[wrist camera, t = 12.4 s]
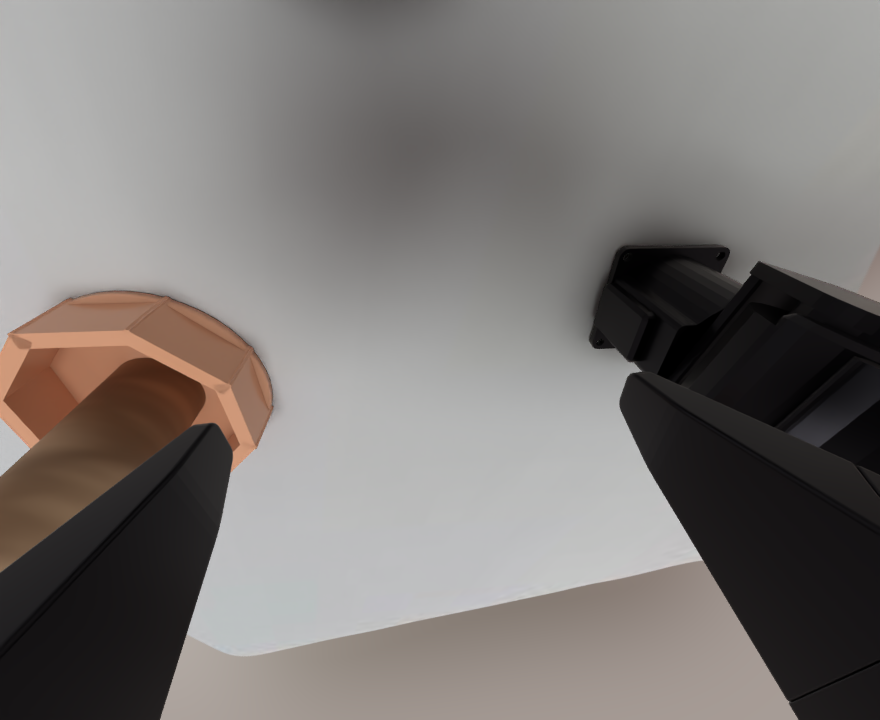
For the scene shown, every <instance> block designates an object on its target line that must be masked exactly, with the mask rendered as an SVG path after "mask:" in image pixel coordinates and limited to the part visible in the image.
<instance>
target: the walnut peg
mask: <svg viewBox="0 0 880 720" xmlns="http://www.w3.org/2000/svg"><path fill="white" fill-rule="evenodd" d="M205 400H206V395H205V391H204V389H203V386H202V385H201V383H200V382H198V381H196V380H194V379H192V378H190V377H188V376H186V375H184V374H182V373H180V372H178V371H176V370H174V369H172V368H170V367H168V366H166V365H165V364H163V363H161V362H159V361H157V360H155V359H153V358H135V359H132V360H129V361H126V362H125V363H123V364H122V365H120V366H119V367H118V368H117V369H116V370H115V371H114V372H113V373H112V374H111V375H110V376H109V377H108V378H106V379H105V380H104V381H103V382H102V383H101V384H100V385H99V386H98V387H97V388H96V389H95V390H93V391H92V392H91V393H90V394H89V395H88V396H87V397H86V398H85V399H84V400H83V401H82V402H81V403H79V404H78V405H77V406H76V407H75V408H74V409H73V410H72V411H71V412H70V413H69V414H68V415H67V416H65V417H64V418H63V419H62V420H61V421H60V422H59V423H58V424H57V425H56V426H55V427H54V428H53V429H51V430H50V431H49V432H48V433H47V434H46V435H45V436H44V437H43V438H42V439H41V440H40V441H39V442H37V443H36V444H35V445H34V446H33V447H32V448H31V449H30V450H29V451H28V452H27V453H26V454H25V455H23V456H22V457H21V458H20V459H19V460H18V461H17V462H16V463H15V464H14V465H13V466H12V467H11V468H9V469H8V470H7V471H6V472H5V473H4V474H3V475H2V476H1V477H0V572H1V571H3V570H4V569H5V568H6V567H8V566H9V565H10V564H12V563H13V562H14V561H16V560H17V559H18V558H20V557H21V556H22V555H23V554H25V553H26V552H27V551H29V550H30V549H31V548H33V547H34V546H35V545H37V544H38V543H39V542H40V541H42V540H43V539H44V538H46V537H47V536H48V535H50V534H51V533H52V532H54V531H55V530H56V529H57V528H59V527H60V526H61V525H63V524H64V523H65V522H67V521H68V520H69V519H70V518H72V517H73V516H74V515H76V514H77V513H78V512H80V511H81V510H82V509H84V508H85V507H86V506H87V505H89V504H90V503H91V502H93V501H94V500H95V499H97V498H98V497H99V496H101V495H102V494H103V493H104V492H106V491H107V490H108V489H110V488H111V487H112V486H114V485H115V484H116V483H118V482H119V481H120V480H121V479H123V478H124V477H125V476H127V475H128V474H129V473H131V472H132V471H133V470H135V469H136V468H137V467H138V466H140V465H141V464H142V463H144V462H145V461H146V460H148V459H149V458H150V457H151V456H153V455H154V454H155V453H157V452H158V451H159V450H161V449H162V448H163V447H165V446H166V445H167V444H168V443H170V442H171V441H172V440H174V439H175V438H176V437H178V436H179V435H180V434H182V433H183V432H184V431H185V430H187V429H188V428H189V427H190V426H191V425H192V423H193V422H194V420H195V419H196V417H197V416H198V414H199V413H200V411H201V409H202V408H203V406H204V404H205Z"/></svg>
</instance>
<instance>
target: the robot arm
mask: <svg viewBox="0 0 880 720" xmlns="http://www.w3.org/2000/svg"><path fill="white" fill-rule="evenodd" d="M628 253H629V255H628V257H627V258H626V259H624V260H623V258H624V256H625V255H626V254H628ZM719 253H720V254H719ZM718 254H719V255H718ZM729 254H730V250H729V249H728V248H727V247H724V246H722V245H685V246H626V247H623V248H621V249H620V250H619V251H618V252H617V254H616V256H615V259H614V263H613V266H612V269H611V272H610V276H609V279H608V282H607V285H606V286H605V287H604V290H603V293H602V297H601V300H600V303H599V307H598V310H597V313H596V316H595V320H594V328H593V331H592V334H591V337H590V344H591V345H592V346H593V347H594V348H595V349H607V348H616V349H617V350H618V351H619V352H620V353H621V354H622V355H623V357H624V358H625V359H626V360H627V361H628V362H634V363H635V364H636V365H637V366H638V367H639V369H640V370H641V371H642V372H637V373H632V374H630V375H629V376H628V377H627V380H626V383H625V386H624V389H623V391H622V394H621V397H620V403H619V404H620V409H621V412H622V414H623V416H624V418H625V420H626V423H627V425H628V427H629V429H630V431H631V433H632V435H633V438H634V440H635V442H636V444H637V446H638V448H639V450H640V453H641V455H642V457H643V459H644V461H645V463H646V465H647V467H648V469H649V470H650V472H651V474H652V476H653V478H654V479H655V481H656V483H657V484H658V486H659V488H660V489H661V491H662V493H663V494H664V496H665V498H666V499H667V501H668V503H669V504H670V506H671V508H672V509H673V511H674V513H675V514H676V516H677V518H678V519H679V521H680V523H681V524H682V526H683V528H684V529H685V531H686V533H687V534H688V536H689V538H690V539H691V541H692V543H693V544H694V546H695V547H696V549H697V551H698V552H699V554H700V556H701V557H702V559H703V561H704V562H705V564H706V566H707V567H708V569H709V571H710V572H711V574H712V576H713V577H714V579H715V581H716V582H717V584H718V586H719V587H720V589H721V591H722V592H723V594H724V596H725V597H726V599H727V601H728V602H729V604H730V606H731V607H732V609H733V611H734V612H735V614H736V616H737V617H738V619H739V621H740V622H741V624H742V626H743V627H744V629H745V631H746V632H747V634H748V636H749V637H750V639H751V641H752V642H753V644H754V646H755V647H756V649H757V651H758V652H759V654H760V656H761V657H762V659H763V660H764V662H765V664H766V666H767V667H768V669H769V671H770V672H771V674H772V676H773V677H774V679H775V681H776V682H777V684H778V685H779V687H780V689H781V691H782V692H783V694H784V696H785V697H786V699H787V700H788V701H790V702H789V704H790V706H791V708H792V710H793V711H794V713H795V715H796V716H797V718H798V720H880V303H879V302H877V301H874V300H871V299H869V298H866V297H864V296H861V295H859V294H856V293H853V292H851V291H848V290H846V289H843V288H841V287H838V286H835V285H832V284H829V283H826V282H823V281H820V280H817V279H814V278H810V277H807V276H804V275H801V274H798V273H795V272H792V271H789V270H786V269H782V268H779V267H776V266H773V265H770V264H767V263H764V262H761V261H759V262H758V263H757V264H756V265H755V267H754V268H753V269H752V270H751V272H750V274H751V276H750V277H749V278H748V279H747V281H746V282H745V283H744V284H743V285H742V284H741V283H739V282H737V281H735V280H733V279H731V278H729V277H727V276H725V275H723V274H721V271H722V269H723V267H724V265H725V263H726V261H727V259H728V257H729ZM717 255H718V256H717ZM716 256H717V257H716ZM599 339H601V340H600V341H599V342H597V341H598V340H599ZM232 462H233V451H232V448H231V446H230V444H229V442H228V441H227V439H226V437H225V435H224V434H223V432H222V430H221V428H220V427H219V426H218V425H217V424H216V423H203V424H196V425H193V426H191V427H189V428H188V429H187V430H185V431H184V432H183V433H182V434H180V435H179V436H178V437H176V438H175V439H174V440H172V441H171V442H170V443H168V444H167V445H166V446H165V447H163V448H162V449H161V450H159V451H158V452H157V453H155V454H154V455H153V456H151V457H150V458H149V459H148V460H146V461H145V462H144V463H142V464H141V465H140V466H138V467H137V468H136V469H135V470H133V471H132V472H131V473H129V474H128V475H127V476H125V477H124V478H123V479H121V480H120V481H119V482H118V483H116V484H115V485H114V486H112V487H111V488H110V489H108V490H107V491H106V492H104V493H103V494H102V495H101V496H99V497H98V498H97V499H95V500H94V501H93V502H91V503H90V504H89V505H87V506H86V507H85V508H84V509H82V510H81V511H80V512H78V513H77V514H76V515H74V516H73V517H72V518H70V519H69V520H68V521H67V522H65V523H64V524H63V525H61V526H60V527H59V528H57V529H56V530H55V531H54V532H52V533H51V534H50V535H48V536H47V537H46V538H44V539H43V540H42V541H40V542H39V543H38V544H37V545H35V546H34V547H33V548H31V549H30V550H29V551H27V552H26V553H25V554H23V555H22V556H21V557H20V558H18V559H17V560H16V561H14V562H13V563H12V564H10V565H9V566H8V567H6V568H5V569H4V570H3V571H1V572H0V720H160V718H161V714H162V711H163V708H164V705H165V701H166V698H167V695H168V692H169V688H170V685H171V682H172V679H173V676H174V673H175V670H176V666H177V663H178V660H179V656H180V653H181V650H182V647H183V644H184V640H185V638H186V634H187V631H188V628H189V625H190V622H191V618H192V615H193V612H194V609H195V606H196V602H197V599H198V596H199V593H200V589H201V586H202V583H203V580H204V577H205V573H206V570H207V567H208V564H209V561H210V557H211V554H212V551H213V548H214V545H215V541H216V538H217V534H218V531H219V527H220V523H221V518H222V513H223V508H224V503H225V498H226V493H227V488H228V482H229V477H230V472H231V467H232Z"/></svg>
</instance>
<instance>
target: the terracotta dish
mask: <svg viewBox="0 0 880 720" xmlns="http://www.w3.org/2000/svg"><path fill="white" fill-rule="evenodd" d="M7 335H8V338H7V341H6V343H5V345H4V347H3V349H2V351H1V353H0V418H1V419H2V420H3V421H4V422H5V423H6V424H7V425H8V426H9V427H10V428H11V429H12V430H13V431H14V432H15V433H16V434H17V435H18V436H19V437H20V438H21V439H22V440H23V441H24V442H25V443H26V445H27V446H28V447H29V448H30V449H31V448H32V447H33V446H34V445H35V444H36V443H37V442H39V441H40V440H41V439H42V438H43V437H44V436H45V435H46V434H47V433H48V432H49V431H50V430H51V429H53V428H54V427H55V426H56V425H57V424H58V423H59V422H60V421H61V420H62V419H63V418H64V417H65V416H67V415H68V414H69V413H70V412H71V411H72V410H73V409H74V408H75V407H76V406H77V405H78V404H79V403H81V402H82V401H83V400H84V399H85V398H86V397H87V396H88V395H89V394H90V393H91V392H92V391H93V390H95V389H96V388H97V387H98V386H99V385H100V384H101V383H102V382H103V381H104V380H105V379H106V378H108V377H109V376H110V375H111V374H112V373H113V372H114V371H115V370H116V369H117V368H118V367H119V366H120V365H122V364H123V363H125V362H126V361H129V360H132V359H135V358H153V359H155V360H157V361H159V362H161V363H163V364H165V365H166V366H168V367H170V368H172V369H174V370H176V371H178V372H180V373H182V374H184V375H186V376H188V377H190V378H192V379H194V380H196V381H198V382H200V383H201V385H202V386H203V389H204V391H205V395H206V400H205V404H204V406H203V408H202V409H201V411H200V413H199V414H198V416H197V417H196V419H195V420H194V422H193V423H192V425H191V426H193V425H196V424H203V423H216V424H217V425H218V426H219V427H220V428H221V430H222V432H223V434H224V435H225V437H226V439H227V441H228V442H229V444H230V446H231V448H232V451H233V462H232V467H231V471H232V470H234V469H235V468H236V467H237V466H238V465H239V464H240V463H241V462H242V461H243V460H244V459H245V458H246V457H247V456H248V455H249V454H250V453H251V452H252V451H253V450H254V449H257V446H258V444H259V441H260V439H261V437H262V434H263V432H264V429H265V427H266V425H267V422H268V420H269V417H270V415H271V412H272V410H273V406H272V400H273V396H272V387H271V383H270V379H269V376H268V374H267V372H266V369H265V367H264V366H263V364H262V362H261V361H260V359H259V358H258V356H257V355H256V354H255V353H254V351H253V348H252V347H250V346H248V345H247V344H246V343H245V342H244V341H243V339H242V338H240V337H239V336H238V335H237V334H236V333H234V332H233V331H232V330H231V329H229V328H228V327H227V326H225V325H224V324H222V323H221V322H219V321H218V320H216V319H214V318H213V317H211V316H209V315H207V314H205V313H204V312H202V311H200V310H197V309H195V308H193V307H190V306H188V305H186V304H183V303H180V302H177V301H174V300H172V299H170V297H167V296H165V297H160V296H156V295H152V294H146V293H139V292H130V291H109V292H98V293H93V294H88V295H84V296H81V297H78V298H76V299H71V298H69V299H67V300H65V301H63V302H62V303H60V304H58V305H56V306H55V307H53V308H51V309H50V310H48V311H46V312H44V313H43V314H41V315H39V316H37V317H36V318H34V319H32V320H31V321H29V322H27V323H25V324H24V325H22V326H20V327H18V328H17V329H15V330H13V331H12V332H10V333H8V334H7ZM191 426H190V427H191Z"/></svg>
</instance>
